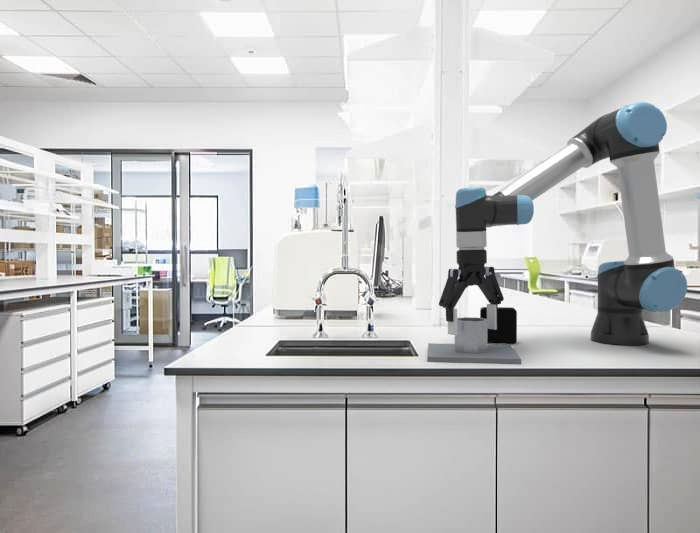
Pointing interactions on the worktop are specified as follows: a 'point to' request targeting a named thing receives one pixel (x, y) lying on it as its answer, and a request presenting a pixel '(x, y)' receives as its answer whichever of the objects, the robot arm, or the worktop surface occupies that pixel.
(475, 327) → the duct sleeve
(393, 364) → the worktop surface
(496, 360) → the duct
